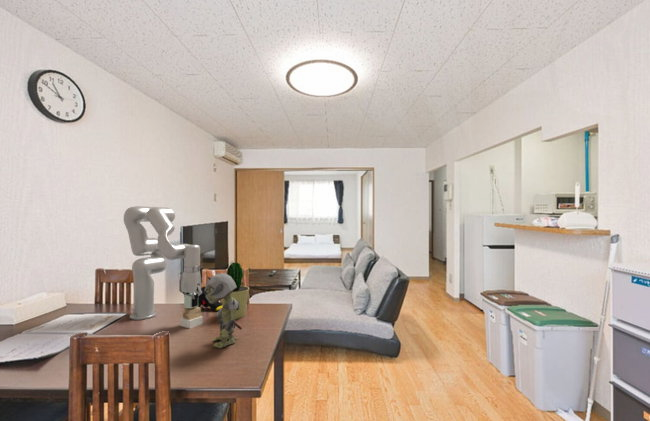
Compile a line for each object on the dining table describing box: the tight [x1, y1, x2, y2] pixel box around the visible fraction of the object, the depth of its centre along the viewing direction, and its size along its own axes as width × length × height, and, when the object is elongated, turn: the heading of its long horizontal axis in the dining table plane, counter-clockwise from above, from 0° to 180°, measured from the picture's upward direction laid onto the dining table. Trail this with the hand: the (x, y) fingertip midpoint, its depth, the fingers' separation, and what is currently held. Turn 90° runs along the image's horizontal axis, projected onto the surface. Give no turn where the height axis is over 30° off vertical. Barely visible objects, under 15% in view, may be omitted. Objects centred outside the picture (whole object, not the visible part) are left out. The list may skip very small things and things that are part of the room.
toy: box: [204, 273, 243, 349], centre depth 133 cm, size 15×16×30 cm
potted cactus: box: [220, 261, 250, 320], centre depth 169 cm, size 15×15×30 cm
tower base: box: [179, 315, 204, 329], centre depth 154 cm, size 8×8×4 cm
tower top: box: [182, 306, 202, 320], centre depth 154 cm, size 6×6×4 cm
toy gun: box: [197, 285, 222, 312], centre depth 180 cm, size 5×18×12 cm
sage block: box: [183, 293, 197, 309], centre depth 154 cm, size 5×5×6 cm
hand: (191, 305), depth 154 cm, fingers closed on sage block, 4 cm apart
